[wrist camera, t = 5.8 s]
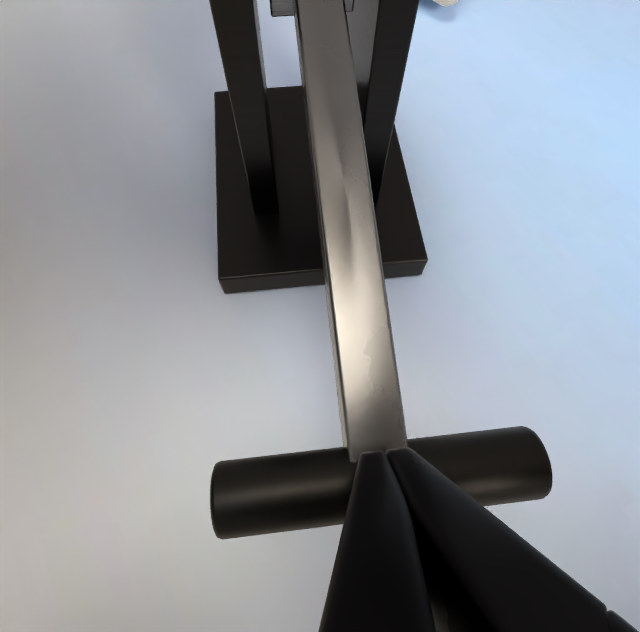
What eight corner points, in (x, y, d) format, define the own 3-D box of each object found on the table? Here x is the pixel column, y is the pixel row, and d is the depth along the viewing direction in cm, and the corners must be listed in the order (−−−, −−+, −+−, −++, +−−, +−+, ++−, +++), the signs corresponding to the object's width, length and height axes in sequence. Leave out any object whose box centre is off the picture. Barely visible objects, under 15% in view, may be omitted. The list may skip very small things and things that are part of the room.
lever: (510, 485, 9) (581, 514, 7) (230, 520, 9) (203, 562, 7) (407, -75, 12) (432, -189, 10) (193, -64, 12) (165, -180, 9)
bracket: (421, 275, 17) (576, -58, 7) (224, 294, 17) (81, -31, 7) (380, 100, 21) (440, -276, 11) (219, 112, 21) (125, -268, 11)
